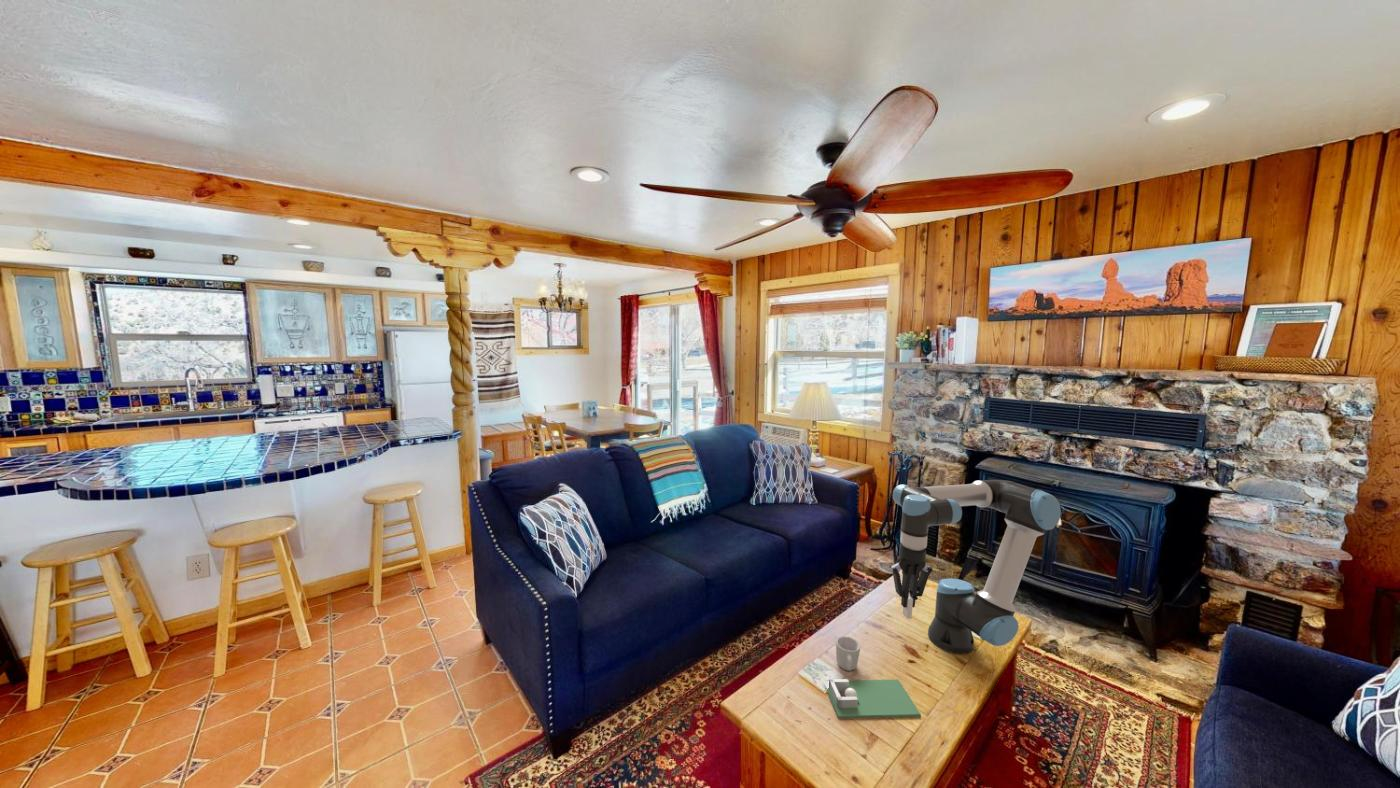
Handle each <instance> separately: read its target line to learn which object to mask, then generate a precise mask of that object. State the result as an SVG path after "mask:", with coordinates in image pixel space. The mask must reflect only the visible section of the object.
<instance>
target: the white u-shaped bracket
mask: <svg viewBox="0 0 1400 788" xmlns="http://www.w3.org/2000/svg"><path fill="white" fill-rule="evenodd" d="M848 680H849V679H848V678H840V679H839V678H836V679H835V678H834V679H833V678H831V679H830V678H829V679H828V681H829V689H830V691H831V694H832V696H833V698H834V701H835V703H836V705H837V707H838V708H857V706H858V699H857V697H845V696H841V694H840V693H845V690H846V689H847V688H849V681H848ZM841 691H842V692H841Z"/></svg>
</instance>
